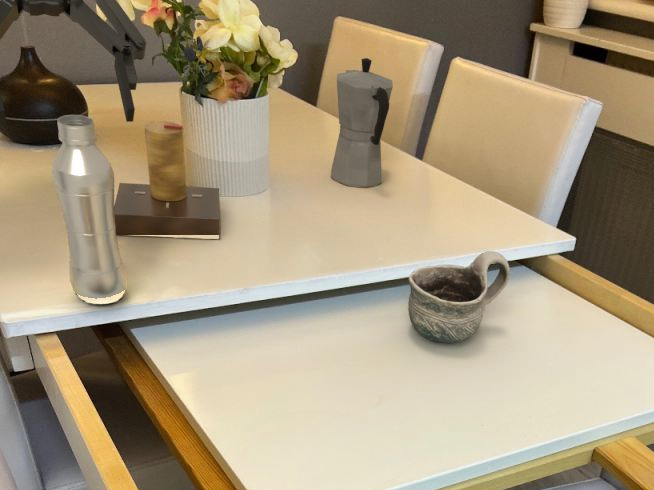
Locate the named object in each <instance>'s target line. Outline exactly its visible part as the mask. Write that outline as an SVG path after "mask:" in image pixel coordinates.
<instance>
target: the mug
mask: <svg viewBox="0 0 654 490" xmlns="http://www.w3.org/2000/svg"><path fill="white" fill-rule="evenodd" d="M492 264H498V265H499V271H498V274H497V275H496V277H495V279H494V281H493V282H492V283H491V284H490V285H489V286H488V284H489V283H488V278H487V275H488V274H487V273H488V269H489V267H490V266H491V265H492ZM510 275H511V269H510V265H509V262H508V260H507V258H506V257H505V256H504V255H503V254H501V253H500V252H498V251H493V250H491V251H489V250H488V251H484V252H481V253H480V254H478V255H477V256H476V257H475V259H474V260H473V261H472V262H471V263H470V264H469V265H468V266H464V265H458V264H437V265H426V266H423V267H420V268H416V269H414V270H413V271H412V272H411V273H410V274H409V276H408V283H409V287H410V293H409V297H408V303H407V304H408V305H407V307H408V308H407V309H408V317H409V321H410V323H411V326H412V327H413V329H414V330H415V331H416V332H417V333H419V334H420V336H422V337H424V338H426V339H428V340H430V341H433V342H437V343H448V344H449V343H459V342H463V341H465V340H467V339H469V338H470V337H471V336H473V334H475V333H476V331H477V330H478V329H479V327H480V326H481V323H482V321H483V318H484V311H485V308H486V306H488V305H489V304H490V303H491V302H492V301H494V300H495V299H496V298H497V297H498V296H499V294H501V292H502V291H504V289H505V287H506V286H507V284H508V282H509V280H510V277H511V276H510Z"/></svg>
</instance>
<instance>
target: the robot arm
mask: <svg viewBox="0 0 654 490" xmlns="http://www.w3.org/2000/svg"><path fill="white" fill-rule="evenodd" d="M94 2H95V4H96V6H97V7H98V8H99V9H100V11H101V13H102V14H103V16H105V18H106V19H107V21H108V23H110V25H109V24H108V23H107V22H106V21H105V20H104V19H103V18H102V17H100V15H99V14H98V13H97V12H96V11H94V10H93V9H92V8H91V7H90V6H89V5H88V4H87V3H86V2H85V1H84V0H0V41H1V40H2V38H3V37H4V35H6V33H7V32H8V30H9V29H10V28H11V26H12V25H13V23H14V22H16V21H18V20H19V18H20V16H21V15H22V14H23V12H25V13H27V14H29V16H30V17H31V16H32V17H38V16H43V15H46V16H50V17H60V15H61V14H64V15H65V16H66V17H67V18H68V19H69V20H71V21H72V22H73V23H77V24H78V25H79V26H80V27H81V28H82V29H84V31H86V32H87V33H88V34H89V36H91V37H92V38H93V39H94V40H95V41H97V43H99V44H100V45H101V46H102V47H103V48H104V49H105V50H106V51H108V52H109V54H111V55H112V56H113V58H114V71H115V75H116V80H117V85H118V89H119V94H120V98H121V103H122V107H123V112H124V116H125V122H126V123H127V122H130V123H133V122H134V117H135V108H136V107H135V104H134V100H133V94H132V91H136V90H137V85H138V75H137V72H136V66H135V60H140V61H141V60H144V59H145V56H146V48H147V40H146V39H145V37H144V36H143V35H142V34H141V32H140V31H139V30H138V28H137V26H136V25H135V24H134V22H133V21H132V20H131V18H130V17H129V16H128V14H127V13H126V12H125V10H124V8H123V7H122V6H121V4H120V3H119V2H118V1H117V0H94ZM3 101H4V100H3V97H2V92H1V91H0V125H7V117H6V110H5V105H4V102H3Z"/></svg>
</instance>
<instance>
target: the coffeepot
mask: <svg viewBox="0 0 654 490" xmlns="http://www.w3.org/2000/svg"><path fill="white" fill-rule="evenodd" d="M371 65H372V59H370V58H367V57H365V58H364V57H363V58H361V70H358V69H357V70H356V69H352V70H351V69H346V70H345V72H339V73H337V74H336V90H337V91H336V92H337V93H336V94H337V106H338V107H337V110H338V124H339V134H338V137H337V143H336V147H335V151H334V156H333V160H332V165H331V169H330V170H331V172H330V178H331V179H332V180H333V181H334V182H337V183H338V184H341V185H344V186H348V187H353V188H360V189H361V188H372V187H377V186H378V185H380V184H383V173H382V145H381V138H382V135H383V133H384V132H383V131H384V127H385V123H386V120H387V116H388V113H389V110H390V99H391V95H392V92H393V88H394V85H393V80H392V79H390V78H388V77H385V76H383V75H380V74H378V73H374V72H371V71H370V70H371Z"/></svg>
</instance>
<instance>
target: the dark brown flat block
mask: <svg viewBox="0 0 654 490" xmlns="http://www.w3.org/2000/svg"><path fill="white" fill-rule="evenodd" d="M186 188H187V196H186V198H184V199H182V200H179V201H161V200H158V199H155V198H153V197H152V196H151V194H150V183H149V184H148V183H132V182H131V183H130V182H129V183H128V182H126V183H125V182H119V184H118V188H117V193H116V198H115V200H114V215H115V222H114V223H115V228H116V235H220V236H221V221H220V220H221V216H220V215H221V210H220V209H221V208H220V207H221V205H220V188H219V187H203V186H187V185H186Z"/></svg>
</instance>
